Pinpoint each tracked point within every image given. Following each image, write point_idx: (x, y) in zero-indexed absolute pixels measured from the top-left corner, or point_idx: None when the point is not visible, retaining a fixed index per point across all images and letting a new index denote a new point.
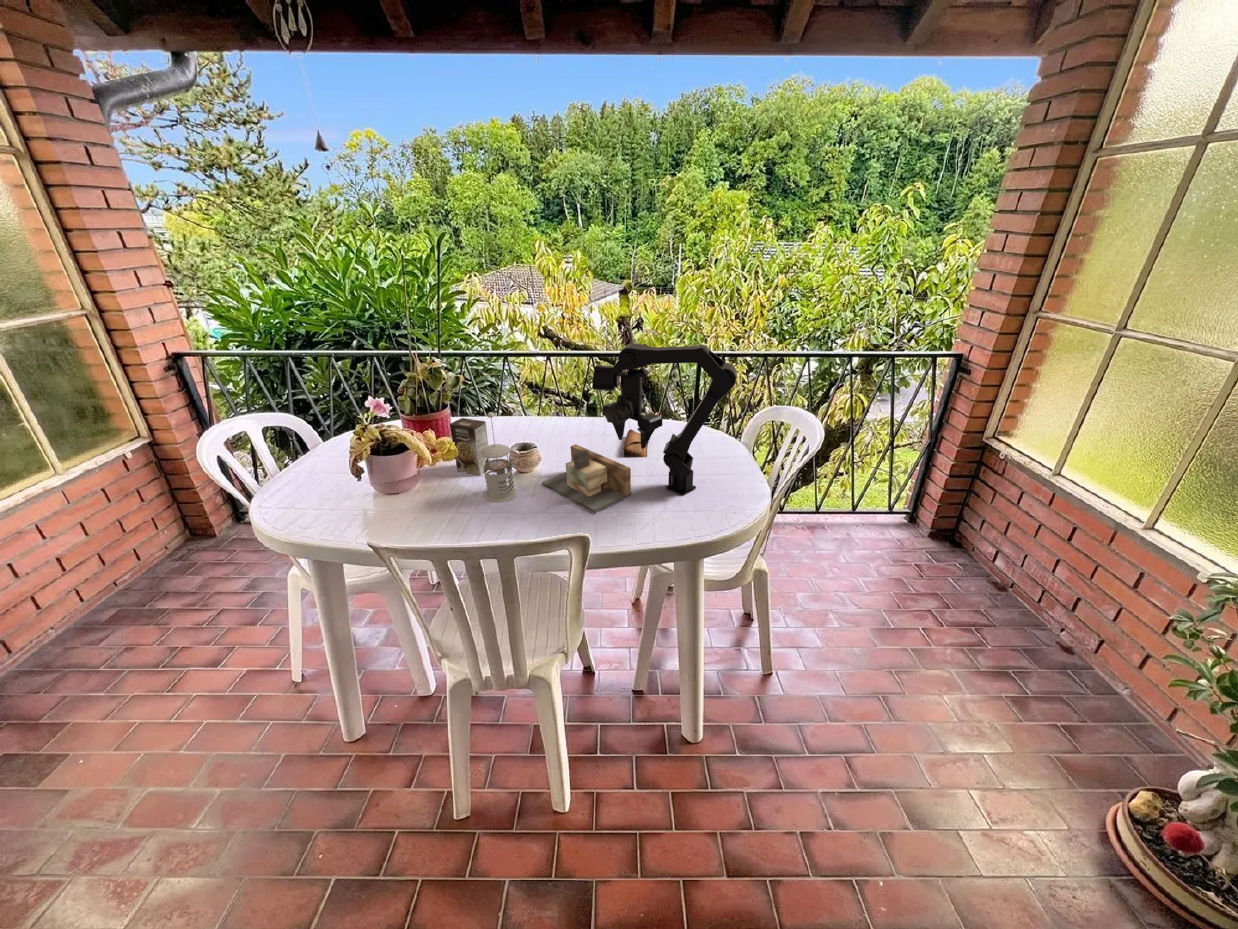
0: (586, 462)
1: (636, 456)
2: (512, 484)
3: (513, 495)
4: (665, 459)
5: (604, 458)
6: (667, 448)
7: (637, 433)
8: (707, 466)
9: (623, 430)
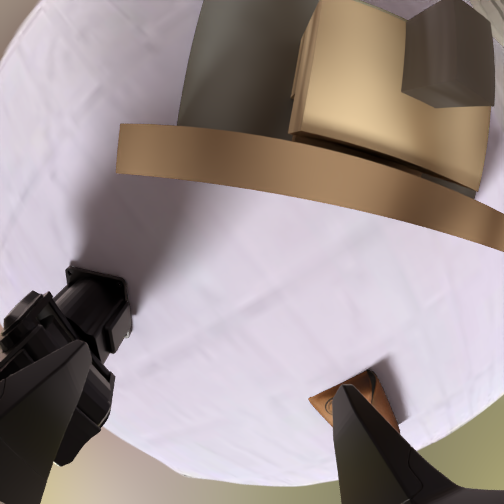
0: (418, 65)
1: (336, 387)
2: (500, 3)
3: (477, 2)
4: (33, 328)
5: (367, 190)
6: (2, 368)
7: None
8: (148, 413)
9: (339, 465)
